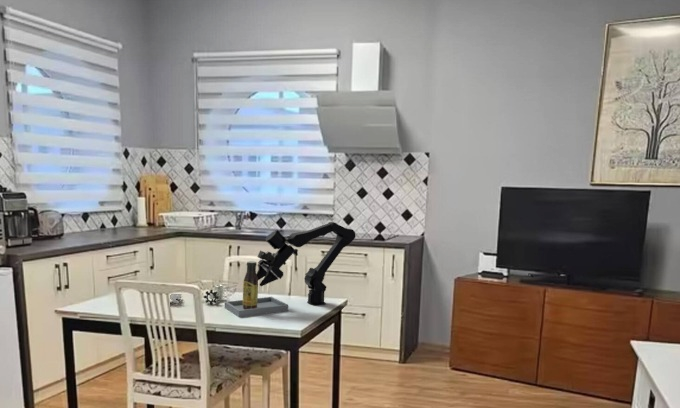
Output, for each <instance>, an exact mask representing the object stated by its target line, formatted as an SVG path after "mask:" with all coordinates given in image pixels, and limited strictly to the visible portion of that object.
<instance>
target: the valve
mask: <svg viewBox="0 0 680 408" xmlns="http://www.w3.org/2000/svg"><path fill="white" fill-rule="evenodd" d="M205 294H206V295H204V296H203V298H204V299H206V300H205V303H206V304H207V303H209V305H211V306H212V305H213V303H214V304H216V303H218V301H222V300H223V299H224V296H223V295H224V285H223V284H215V285H214V290H213V289H210V290H209V291H208V290H207V291H205Z"/></svg>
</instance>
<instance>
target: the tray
mask: <svg viewBox="0 0 680 408" xmlns="http://www.w3.org/2000/svg"><path fill="white" fill-rule="evenodd" d="M224 308H225V309H226V310H227V311H229V312H230V313H232V314H234V315H235V316H237V317H238V318H243V317H250V316H257V315H264V314H265V315H266V314H272V313H279V312H287V311H289V304H288V303H285V302H283V301H281V300H280V299H277V298H275V297H273V296H265V297H258V300H257V308H254V309H244V308H243V299H239V300H229V301H224Z"/></svg>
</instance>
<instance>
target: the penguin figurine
mask: <svg viewBox="0 0 680 408" xmlns="http://www.w3.org/2000/svg"><path fill="white" fill-rule="evenodd" d="M182 298H183V296H182V294H171V295H170V299H171V302H172V303H174V304H175V305H176V304H177V305H178V304H179V303H180V300H181V299H182ZM176 299H177V300H176Z"/></svg>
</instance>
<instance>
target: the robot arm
mask: <svg viewBox="0 0 680 408" xmlns="http://www.w3.org/2000/svg"><path fill="white" fill-rule="evenodd" d="M329 233H333V234H335V235H336V236H335V240H334V243H333V245H332V246H331V247H330V248H329V249H328V251H327V253H326V254H325V255H324V257H322V259H321V260H320V262H319V263H318V264H317V266H316V267H314V268H313V267H309V269H308V271H307V272H306V273H305V274H304V275H305V277H304V278H303V279H304V283H305V285H307V288H308V289H309V290H308V294H307V301H306V303H308V304H310V305H312V306H318V305H319V306H320V305H326V304H327V302H325V292H326V289H327V285H325V284H324V283H323V282H324V279H325V276H326V273H327V271H328V269H329V268H330V267H331V266H332V264H333V263H334V262H335V260H336V259H337V257H339V255H340V253H341V252H342V251H343V249H344V248H345V247H348V246H349V245H350V244H351V243H353V241H354V240H355V239H356V232H355V231H354V230H353V229H351V228H346V227H344V226H342V225H339V224H338V223H337V222H335V221H334V222H333V221H329V222H328V223H326V224H323V225H320V226H317V227H315V228H312V229H309V230H306V231H299V232H293V233H291V234H289V235H286V236H284V235H283V234H282V233H281V232H280V231H279V229H275V230H274V231H271V233H269V234H268V235H267V236H266V237H265V241H266V242H267V244H269V246H271V248H273V250H277V251H276V252H275V253H274V252H273V253H272V252H270V251H269V250H268V251H266V252H265V251H262V250H259V252H258V254H257V258H258V259H259V261H258V262H257V268H258V269H257V271H256V274H257V276H258V281H260V280H261V281H260V283H259V286H260V287H264V286H265V285H267V284H270V283H272V282H275V281H278V280H279V279H280V280H281V279H282V278H283V277H284V272H283V270H281V268H282V266H285V265H286V264H287V261H288V260H289V259H290V257H292V255H293V256H299V254H298V251H299V250H298V249H297V248H301V247H303V246H305V245H307V244H308V243H309V242H311V241H312V240H314V239H316V238H319V237H322V236H324V235H327V234H329ZM288 244H289V245H288ZM294 247H295V248H294Z"/></svg>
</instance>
